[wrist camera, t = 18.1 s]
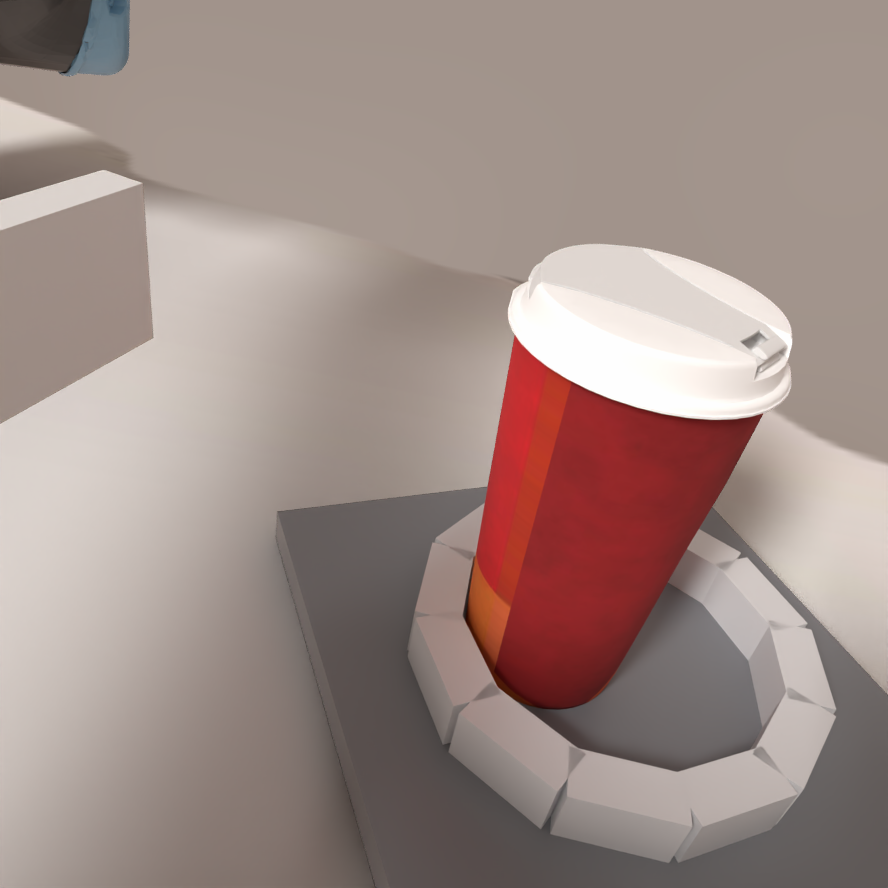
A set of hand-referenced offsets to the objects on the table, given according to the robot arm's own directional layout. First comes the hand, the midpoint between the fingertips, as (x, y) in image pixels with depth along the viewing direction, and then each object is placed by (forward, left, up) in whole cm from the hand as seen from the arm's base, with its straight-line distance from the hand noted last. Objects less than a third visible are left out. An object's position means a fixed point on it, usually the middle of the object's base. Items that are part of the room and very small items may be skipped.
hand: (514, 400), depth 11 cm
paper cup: (-7, +8, -16) cm, 19 cm away
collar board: (-6, +10, -17) cm, 21 cm away
